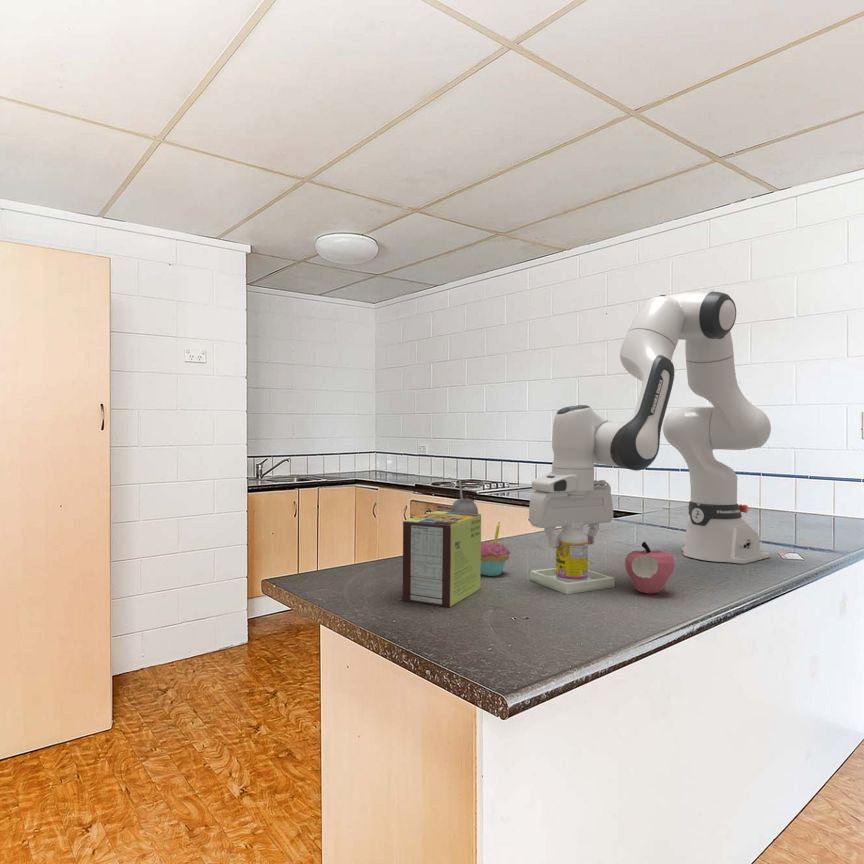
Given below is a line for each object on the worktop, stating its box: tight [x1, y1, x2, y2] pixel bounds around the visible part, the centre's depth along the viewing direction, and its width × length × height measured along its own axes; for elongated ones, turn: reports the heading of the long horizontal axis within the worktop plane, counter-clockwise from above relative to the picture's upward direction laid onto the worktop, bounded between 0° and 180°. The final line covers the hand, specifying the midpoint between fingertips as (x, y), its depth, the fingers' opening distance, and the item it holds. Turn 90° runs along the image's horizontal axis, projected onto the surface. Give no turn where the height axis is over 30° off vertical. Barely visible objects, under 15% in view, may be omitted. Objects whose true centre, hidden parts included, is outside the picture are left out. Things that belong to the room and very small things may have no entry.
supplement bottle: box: [555, 522, 589, 583], centre depth 135 cm, size 7×7×13 cm
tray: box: [529, 567, 616, 595], centre depth 135 cm, size 13×13×2 cm
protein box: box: [402, 510, 482, 608], centre depth 126 cm, size 10×15×16 cm
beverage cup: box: [449, 479, 479, 514], centre depth 157 cm, size 7×7×20 cm
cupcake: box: [480, 521, 511, 577], centre depth 144 cm, size 9×8×12 cm
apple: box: [624, 541, 675, 595], centre depth 129 cm, size 10×9×10 cm
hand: (571, 545), depth 136 cm, fingers open, 8 cm apart
